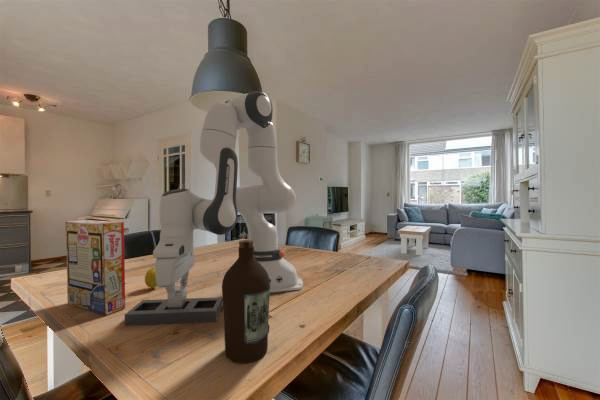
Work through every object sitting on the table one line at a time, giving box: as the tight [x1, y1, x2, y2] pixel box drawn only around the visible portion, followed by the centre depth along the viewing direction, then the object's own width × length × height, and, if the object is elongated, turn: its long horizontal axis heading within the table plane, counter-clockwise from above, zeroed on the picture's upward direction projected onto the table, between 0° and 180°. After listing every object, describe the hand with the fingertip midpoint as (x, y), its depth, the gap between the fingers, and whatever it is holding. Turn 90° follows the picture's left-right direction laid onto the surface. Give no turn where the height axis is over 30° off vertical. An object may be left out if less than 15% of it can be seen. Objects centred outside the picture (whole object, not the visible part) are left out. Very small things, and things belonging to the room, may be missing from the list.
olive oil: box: [221, 239, 271, 364], centre depth 61 cm, size 11×11×25 cm
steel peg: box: [167, 285, 188, 310], centre depth 79 cm, size 4×4×8 cm
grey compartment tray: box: [124, 296, 223, 327], centre depth 79 cm, size 24×10×3 cm, turn 95°
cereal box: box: [65, 219, 126, 316], centre depth 85 cm, size 20×6×27 cm, turn 66°
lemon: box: [144, 266, 158, 289], centre depth 101 cm, size 6×6×8 cm
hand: (178, 291), depth 79 cm, fingers open, 8 cm apart
